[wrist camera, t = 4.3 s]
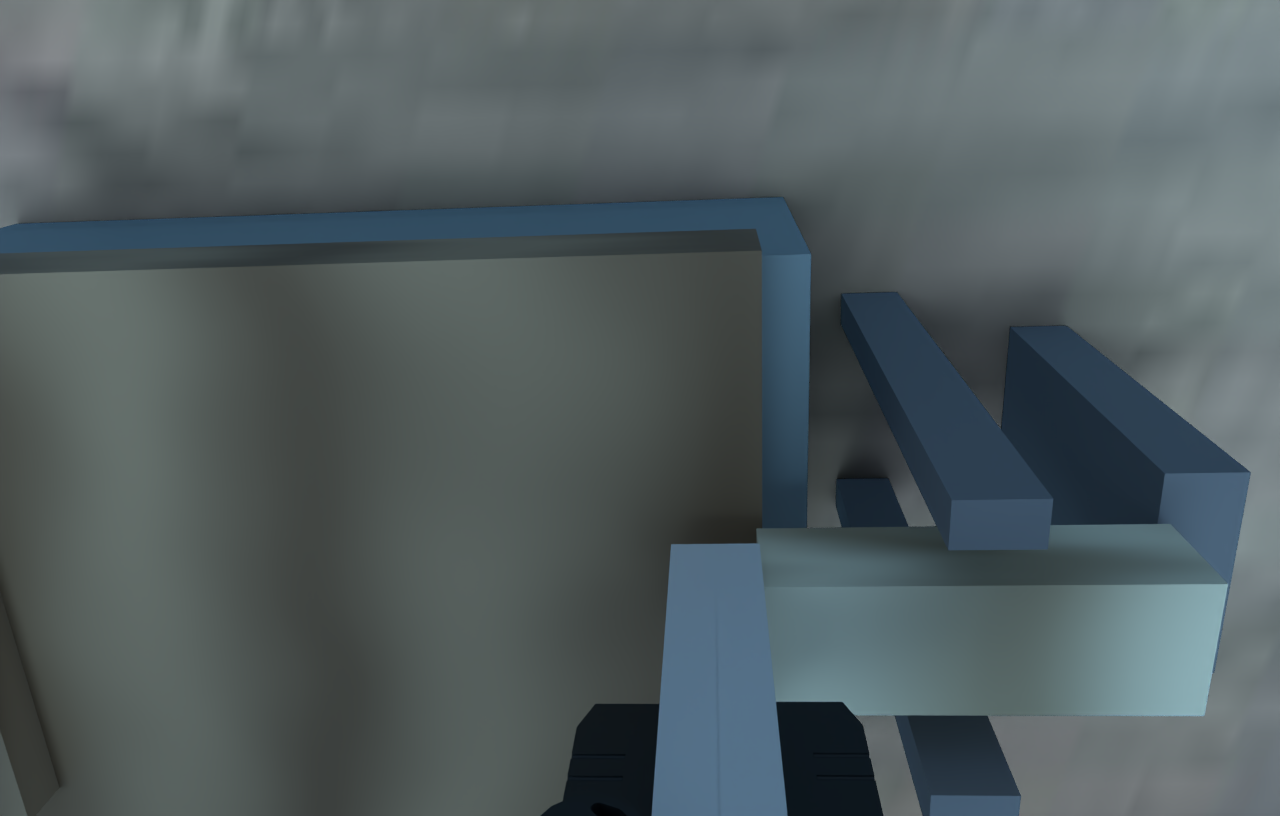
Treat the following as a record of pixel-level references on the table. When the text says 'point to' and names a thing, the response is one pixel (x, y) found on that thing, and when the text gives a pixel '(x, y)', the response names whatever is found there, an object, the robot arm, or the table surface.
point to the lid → (355, 512)
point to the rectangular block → (992, 622)
